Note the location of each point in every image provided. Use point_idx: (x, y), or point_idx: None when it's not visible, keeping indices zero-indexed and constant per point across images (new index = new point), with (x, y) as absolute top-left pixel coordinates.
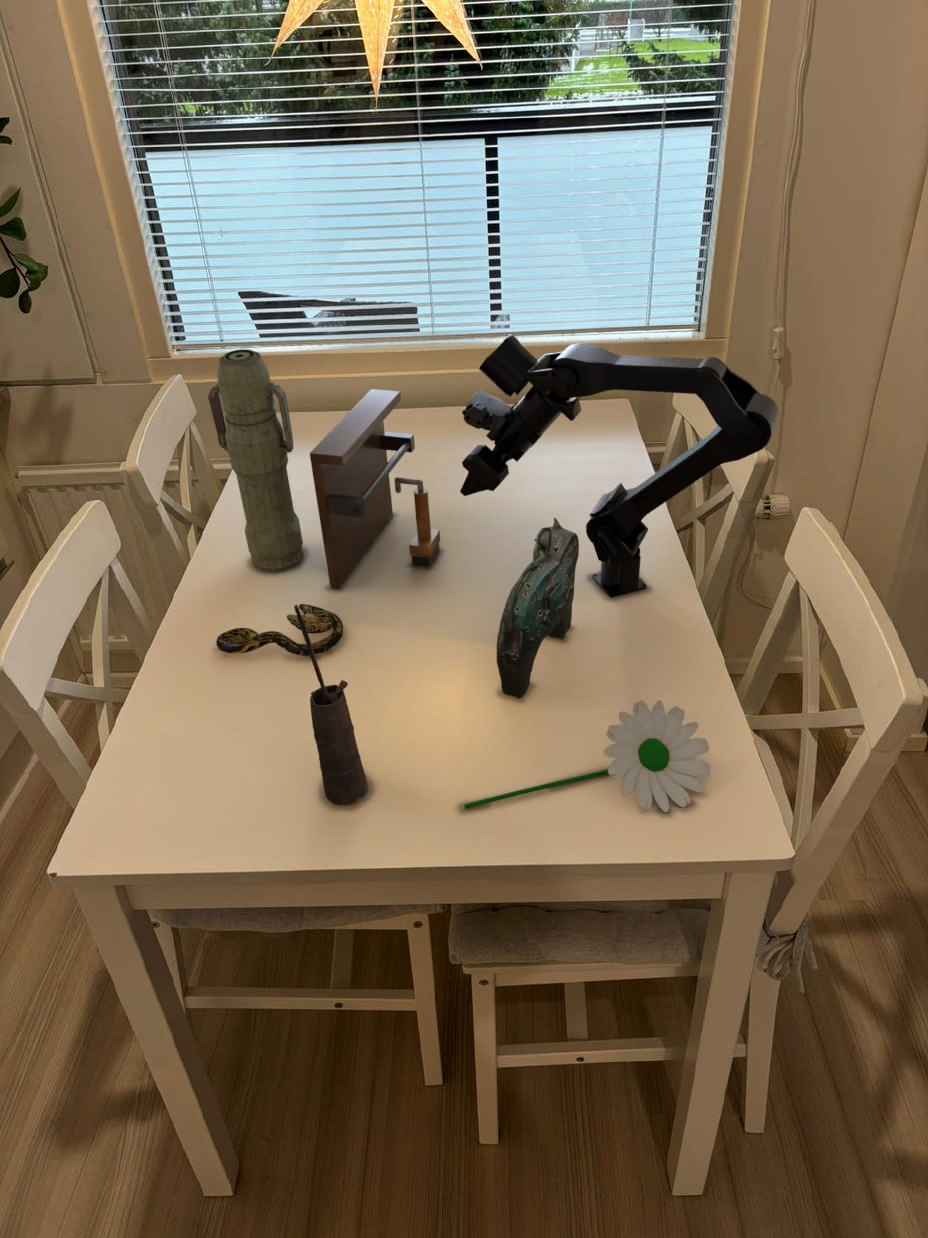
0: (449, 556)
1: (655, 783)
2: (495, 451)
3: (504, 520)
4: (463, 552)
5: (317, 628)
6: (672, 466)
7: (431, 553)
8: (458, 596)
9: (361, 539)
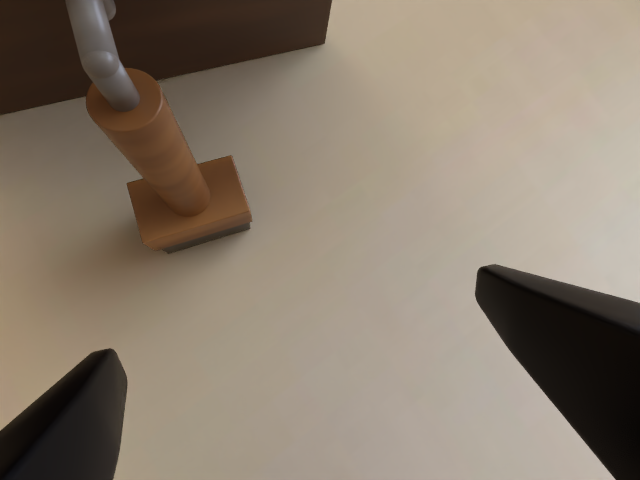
0: (242, 265)
1: None
2: (608, 347)
3: (466, 283)
4: (278, 285)
5: None
6: None
7: (172, 244)
8: None
9: None
